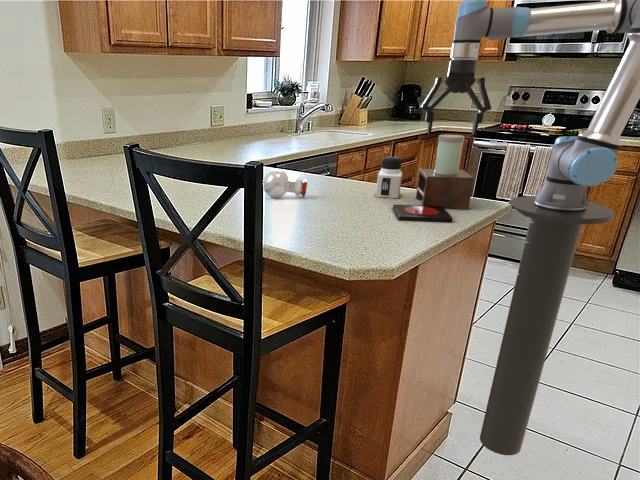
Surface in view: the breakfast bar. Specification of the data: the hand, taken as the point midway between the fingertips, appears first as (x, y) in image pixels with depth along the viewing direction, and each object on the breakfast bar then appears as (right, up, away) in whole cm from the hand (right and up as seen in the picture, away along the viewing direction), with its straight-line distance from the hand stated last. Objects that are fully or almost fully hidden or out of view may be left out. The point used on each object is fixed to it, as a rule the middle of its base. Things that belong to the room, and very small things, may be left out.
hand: (451, 134), depth 164 cm
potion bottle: (-51, -16, +18) cm, 56 cm away
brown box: (0, -20, +9) cm, 22 cm away
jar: (0, -11, +5) cm, 12 cm away
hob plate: (-11, -26, -4) cm, 29 cm away
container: (-14, -15, +20) cm, 29 cm away
